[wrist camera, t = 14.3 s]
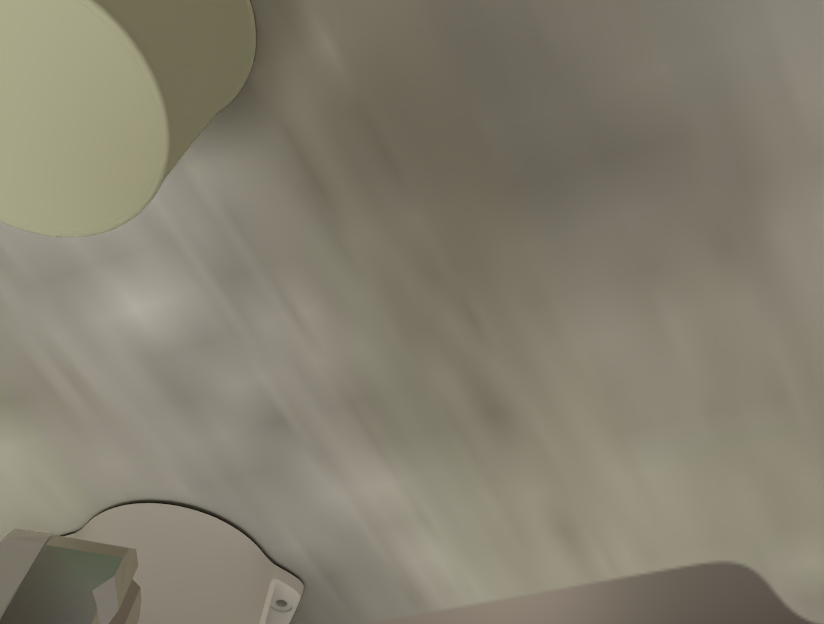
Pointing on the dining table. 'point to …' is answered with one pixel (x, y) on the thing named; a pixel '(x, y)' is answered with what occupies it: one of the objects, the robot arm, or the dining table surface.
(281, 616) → the robot arm
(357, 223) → the dining table surface
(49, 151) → the can
